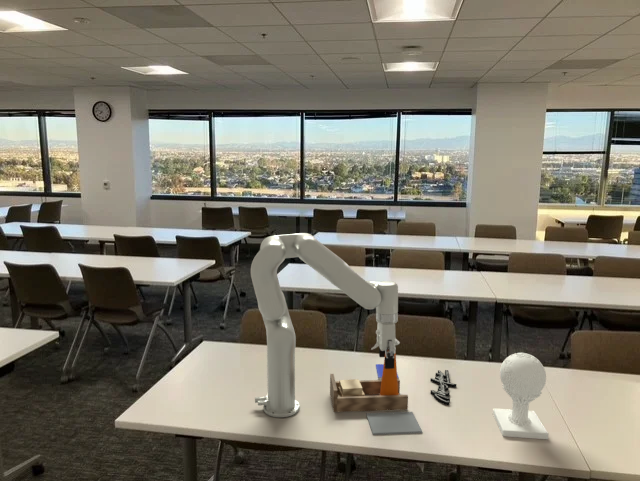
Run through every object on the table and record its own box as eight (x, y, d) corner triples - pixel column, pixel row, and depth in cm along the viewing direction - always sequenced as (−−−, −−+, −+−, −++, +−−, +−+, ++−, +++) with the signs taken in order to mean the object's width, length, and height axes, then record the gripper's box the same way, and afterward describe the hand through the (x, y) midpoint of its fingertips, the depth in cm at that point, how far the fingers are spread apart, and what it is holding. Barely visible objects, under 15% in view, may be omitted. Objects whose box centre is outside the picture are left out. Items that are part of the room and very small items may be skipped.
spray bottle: (373, 393, 176) (375, 326, 172) (401, 400, 171) (403, 331, 167) (366, 401, 170) (368, 332, 166) (395, 409, 165) (397, 337, 161)
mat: (372, 434, 149) (372, 433, 149) (366, 414, 161) (366, 413, 161) (422, 432, 151) (422, 431, 151) (412, 413, 162) (412, 411, 162)
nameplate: (460, 403, 167) (431, 400, 169) (460, 407, 167) (431, 404, 169) (453, 370, 194) (428, 368, 196) (453, 374, 194) (428, 372, 196)
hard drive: (398, 377, 187) (395, 364, 200) (378, 377, 188) (375, 363, 200) (398, 381, 188) (394, 367, 200) (378, 380, 188) (375, 367, 200)
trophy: (501, 436, 149) (508, 362, 145) (491, 413, 163) (496, 345, 159) (548, 440, 148) (556, 365, 143) (533, 416, 161) (540, 347, 157)
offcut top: (342, 395, 166) (342, 389, 165) (339, 386, 172) (339, 380, 172) (362, 394, 166) (362, 387, 166) (358, 385, 173) (358, 379, 173)
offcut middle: (342, 402, 166) (342, 396, 165) (338, 393, 173) (338, 386, 172) (364, 400, 167) (364, 394, 167) (359, 391, 174) (359, 385, 174)
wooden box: (333, 412, 163) (333, 390, 162) (330, 393, 176) (330, 373, 174) (407, 409, 165) (408, 388, 164) (398, 391, 178) (399, 371, 176)
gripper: (371, 309, 174) (371, 353, 177) (381, 325, 157) (380, 373, 160) (391, 308, 174) (391, 352, 177) (403, 324, 157) (402, 372, 160)
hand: (386, 362), depth 168 cm, fingers open, 9 cm apart
